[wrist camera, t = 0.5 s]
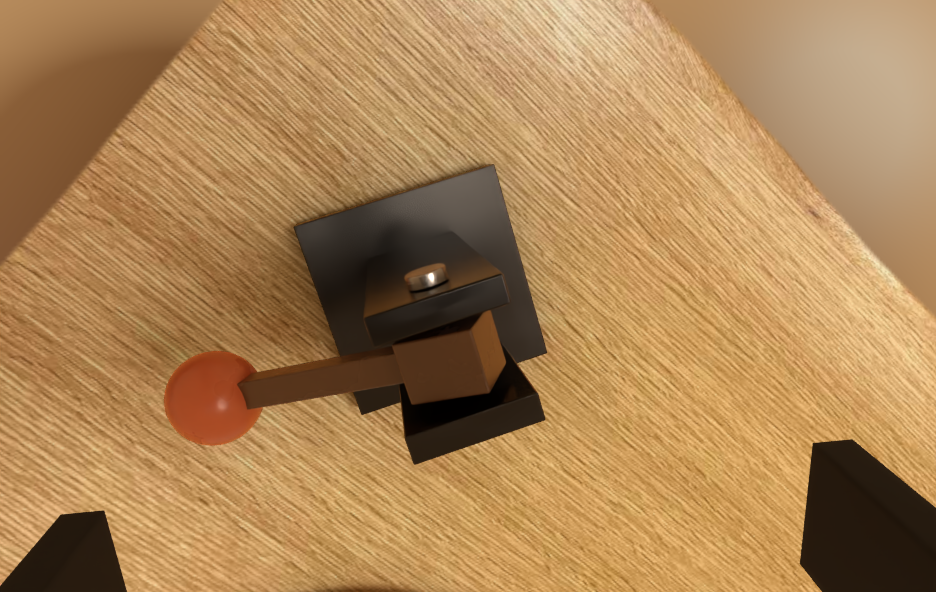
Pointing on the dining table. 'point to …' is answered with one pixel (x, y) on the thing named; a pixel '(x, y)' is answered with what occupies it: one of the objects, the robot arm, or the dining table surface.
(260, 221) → the dining table surface
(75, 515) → the robot arm
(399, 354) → the lever rod
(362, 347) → the rod bracket
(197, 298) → the dining table surface
